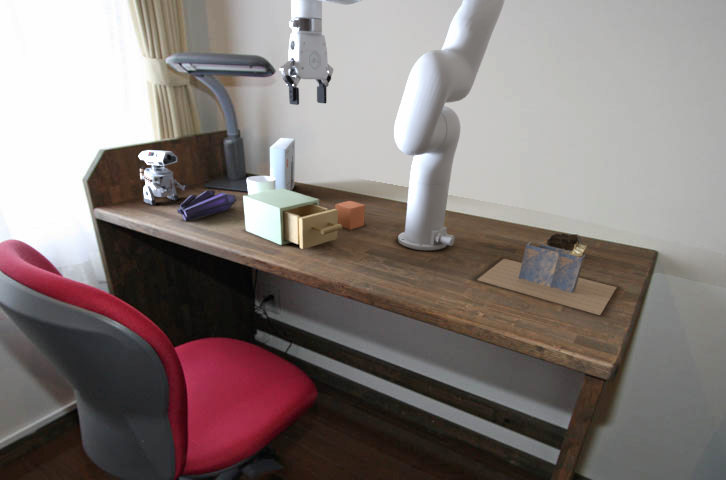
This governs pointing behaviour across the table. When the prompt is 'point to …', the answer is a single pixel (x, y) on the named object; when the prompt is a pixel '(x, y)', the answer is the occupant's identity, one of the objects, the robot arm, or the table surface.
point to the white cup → (260, 184)
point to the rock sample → (564, 241)
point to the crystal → (205, 204)
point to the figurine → (159, 175)
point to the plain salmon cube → (350, 214)
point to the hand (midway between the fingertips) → (308, 103)
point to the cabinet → (272, 212)
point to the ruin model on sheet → (551, 278)
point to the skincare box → (283, 163)
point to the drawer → (310, 225)
